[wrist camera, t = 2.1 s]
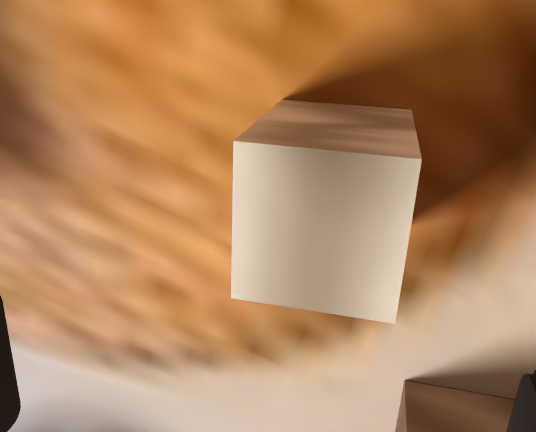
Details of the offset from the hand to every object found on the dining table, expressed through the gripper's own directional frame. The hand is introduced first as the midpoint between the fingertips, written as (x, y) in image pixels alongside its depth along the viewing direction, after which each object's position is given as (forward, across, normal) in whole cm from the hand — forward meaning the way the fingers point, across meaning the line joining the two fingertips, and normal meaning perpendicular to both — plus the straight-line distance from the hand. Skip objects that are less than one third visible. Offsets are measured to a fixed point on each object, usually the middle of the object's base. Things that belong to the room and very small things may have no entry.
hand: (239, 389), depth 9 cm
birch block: (+13, -1, 0) cm, 13 cm away
